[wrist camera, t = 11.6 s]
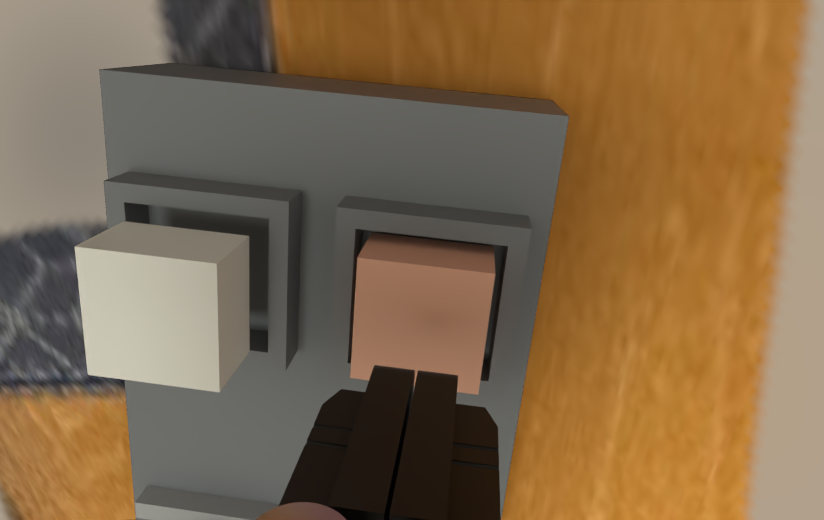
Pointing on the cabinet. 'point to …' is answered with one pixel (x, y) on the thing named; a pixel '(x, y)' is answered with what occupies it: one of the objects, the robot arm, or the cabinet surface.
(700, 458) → the cabinet surface
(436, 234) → the control panel
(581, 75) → the cabinet surface
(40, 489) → the cabinet surface
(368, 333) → the terracotta button
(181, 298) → the cream button
